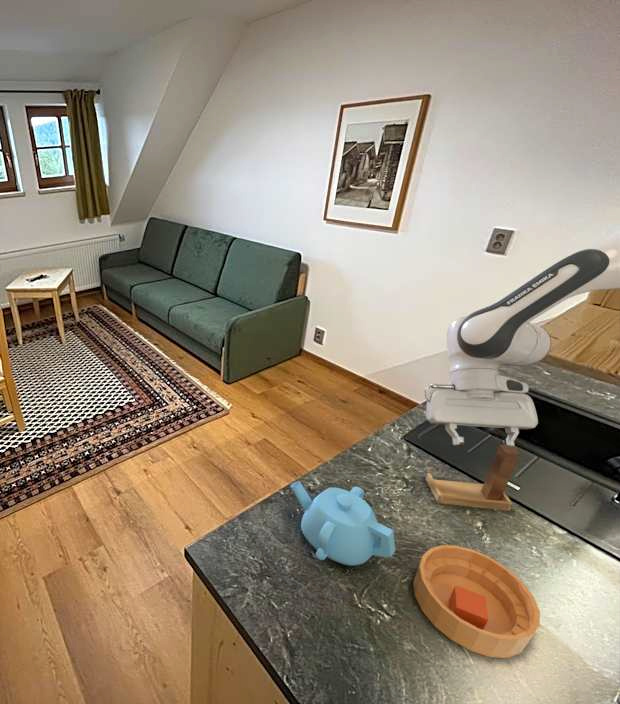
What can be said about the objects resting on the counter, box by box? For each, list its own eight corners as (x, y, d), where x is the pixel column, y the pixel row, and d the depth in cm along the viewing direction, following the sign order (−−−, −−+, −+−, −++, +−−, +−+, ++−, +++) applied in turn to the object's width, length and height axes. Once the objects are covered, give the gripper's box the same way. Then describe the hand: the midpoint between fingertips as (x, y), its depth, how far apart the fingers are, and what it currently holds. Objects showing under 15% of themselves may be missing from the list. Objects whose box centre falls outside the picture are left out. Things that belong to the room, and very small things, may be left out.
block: (448, 599, 67) (455, 585, 66) (478, 611, 65) (485, 596, 64) (449, 621, 64) (456, 607, 63) (480, 634, 62) (488, 620, 61)
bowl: (463, 556, 74) (472, 536, 72) (553, 643, 61) (567, 622, 59) (392, 576, 72) (398, 557, 69) (469, 672, 59) (480, 652, 56)
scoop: (424, 480, 91) (440, 433, 84) (491, 486, 88) (512, 438, 81) (437, 504, 85) (454, 456, 78) (509, 512, 82) (533, 462, 75)
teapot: (404, 544, 77) (418, 501, 72) (368, 606, 68) (381, 562, 62) (307, 490, 91) (312, 450, 86) (266, 535, 81) (269, 494, 76)
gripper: (430, 380, 91) (436, 441, 87) (536, 384, 86) (548, 450, 82) (418, 386, 97) (423, 444, 93) (517, 390, 92) (528, 451, 88)
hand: (483, 447), depth 88 cm, fingers open, 8 cm apart
